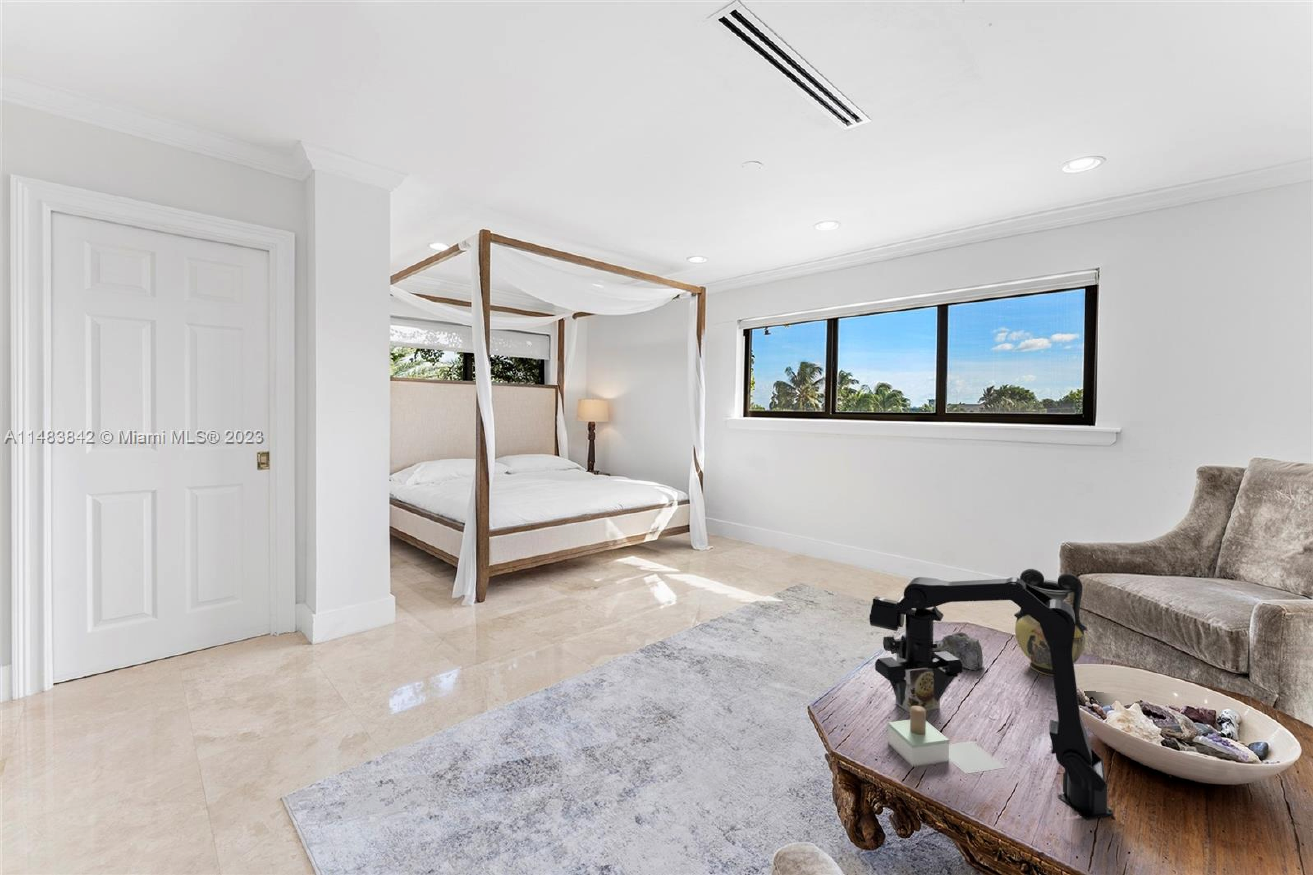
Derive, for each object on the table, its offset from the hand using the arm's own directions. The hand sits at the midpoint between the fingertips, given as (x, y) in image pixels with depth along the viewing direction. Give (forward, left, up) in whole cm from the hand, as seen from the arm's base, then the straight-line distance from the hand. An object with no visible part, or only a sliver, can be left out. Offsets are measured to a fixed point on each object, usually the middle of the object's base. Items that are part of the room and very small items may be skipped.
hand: (918, 702), depth 128 cm
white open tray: (0, 0, -12) cm, 12 cm away
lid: (0, 0, -7) cm, 7 cm away
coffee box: (+18, -13, -12) cm, 25 cm away
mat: (-4, -10, -12) cm, 16 cm away
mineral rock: (+38, -41, -12) cm, 57 cm away
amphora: (+28, -64, -12) cm, 71 cm away
